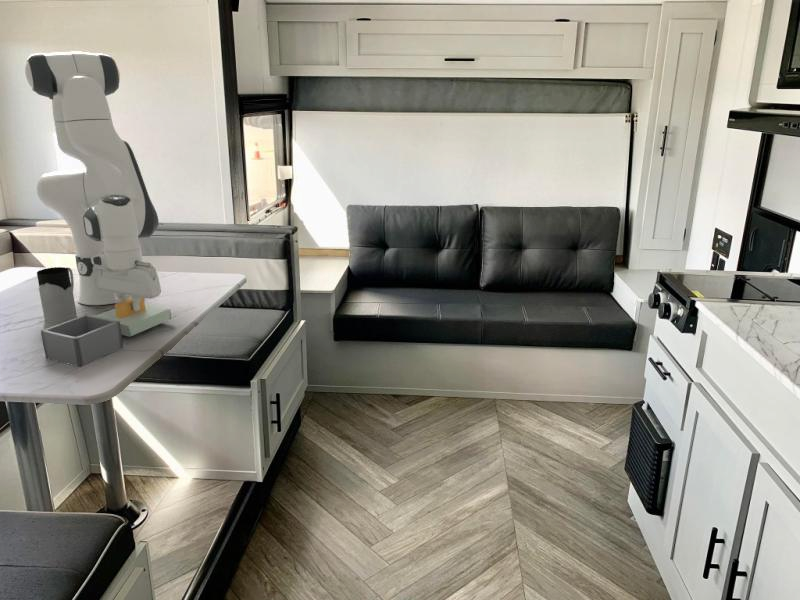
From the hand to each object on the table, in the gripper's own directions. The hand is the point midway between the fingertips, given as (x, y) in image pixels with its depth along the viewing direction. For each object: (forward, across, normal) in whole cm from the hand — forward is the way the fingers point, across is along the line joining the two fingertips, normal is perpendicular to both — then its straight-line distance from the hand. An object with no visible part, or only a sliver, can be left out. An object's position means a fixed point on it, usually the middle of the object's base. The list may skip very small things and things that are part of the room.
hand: (130, 309), depth 166 cm
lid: (+4, 0, 0) cm, 4 cm away
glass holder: (+6, +22, +3) cm, 23 cm away
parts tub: (+6, -2, +17) cm, 18 cm away
